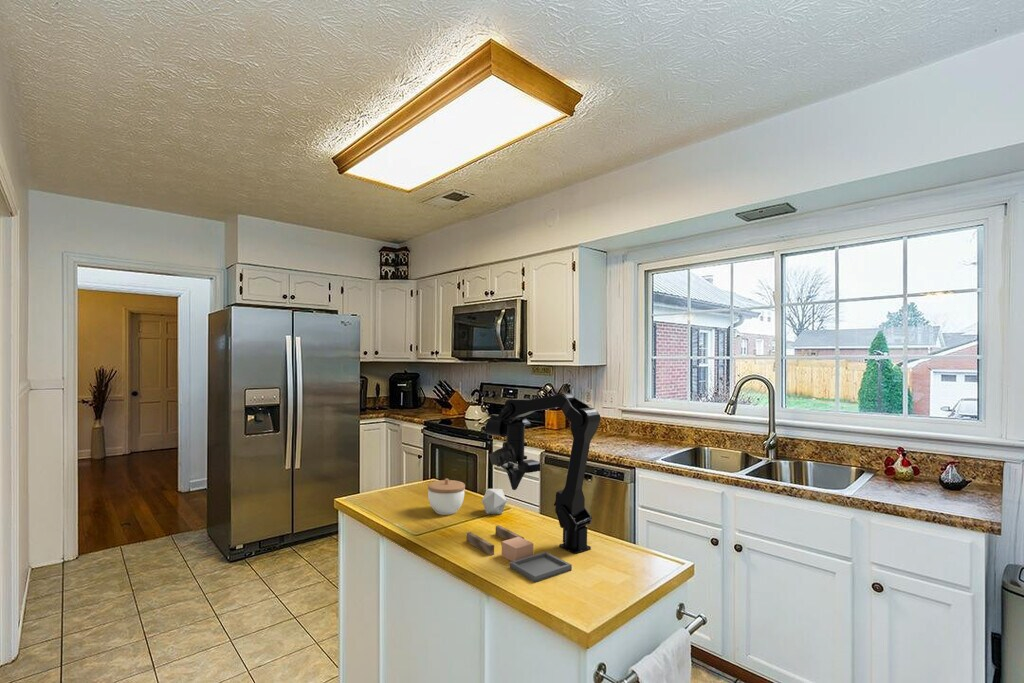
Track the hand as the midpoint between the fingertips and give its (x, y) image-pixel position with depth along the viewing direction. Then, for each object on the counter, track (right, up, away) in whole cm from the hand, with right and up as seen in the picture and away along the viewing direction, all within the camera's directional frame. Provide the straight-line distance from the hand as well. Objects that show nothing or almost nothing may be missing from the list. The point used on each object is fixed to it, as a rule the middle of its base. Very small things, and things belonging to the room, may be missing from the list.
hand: (514, 489), depth 156 cm
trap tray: (+7, -12, -29) cm, 32 cm away
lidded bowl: (-23, -12, +15) cm, 30 cm away
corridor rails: (-6, -12, -13) cm, 18 cm away
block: (+1, -12, -22) cm, 25 cm away
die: (-7, -12, +15) cm, 21 cm away
